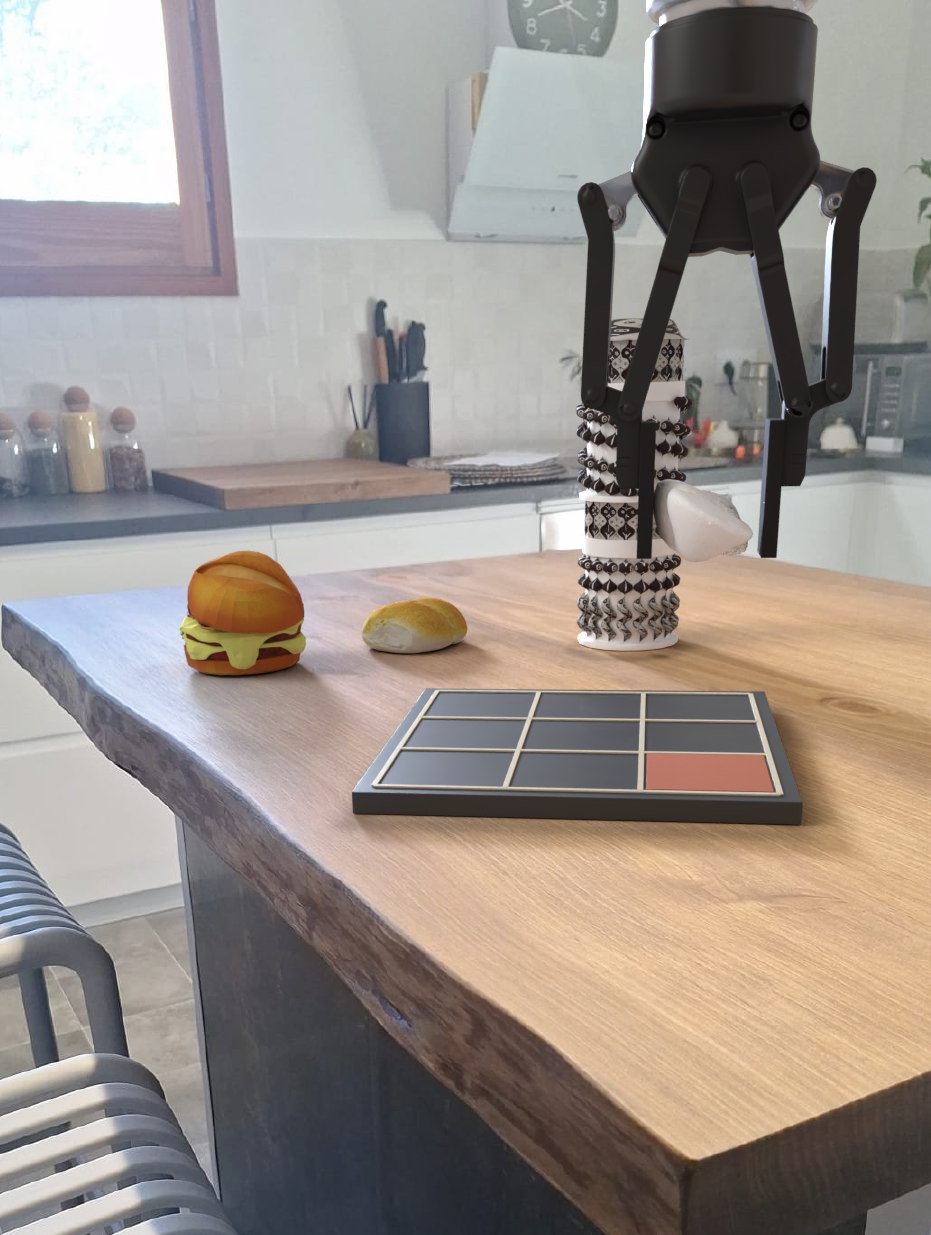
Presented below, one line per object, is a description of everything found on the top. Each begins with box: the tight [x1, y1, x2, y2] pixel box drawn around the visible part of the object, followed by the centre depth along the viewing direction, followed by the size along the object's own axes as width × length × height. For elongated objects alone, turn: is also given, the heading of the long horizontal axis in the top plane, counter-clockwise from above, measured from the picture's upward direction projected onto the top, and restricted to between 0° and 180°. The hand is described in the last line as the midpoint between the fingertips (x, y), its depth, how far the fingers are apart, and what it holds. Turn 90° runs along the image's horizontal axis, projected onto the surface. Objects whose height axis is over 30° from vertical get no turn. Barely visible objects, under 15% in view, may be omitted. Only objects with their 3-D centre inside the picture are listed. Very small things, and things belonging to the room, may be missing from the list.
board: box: [351, 687, 804, 826], centre depth 74 cm, size 23×23×1 cm
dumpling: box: [653, 479, 765, 563], centre depth 63 cm, size 7×5×4 cm
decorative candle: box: [575, 317, 694, 652], centre depth 100 cm, size 9×9×25 cm
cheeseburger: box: [178, 550, 307, 676], centre depth 98 cm, size 10×11×10 cm
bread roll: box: [361, 596, 468, 654], centre depth 105 cm, size 8×9×4 cm
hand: (705, 553), depth 63 cm, fingers closed on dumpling, 5 cm apart
